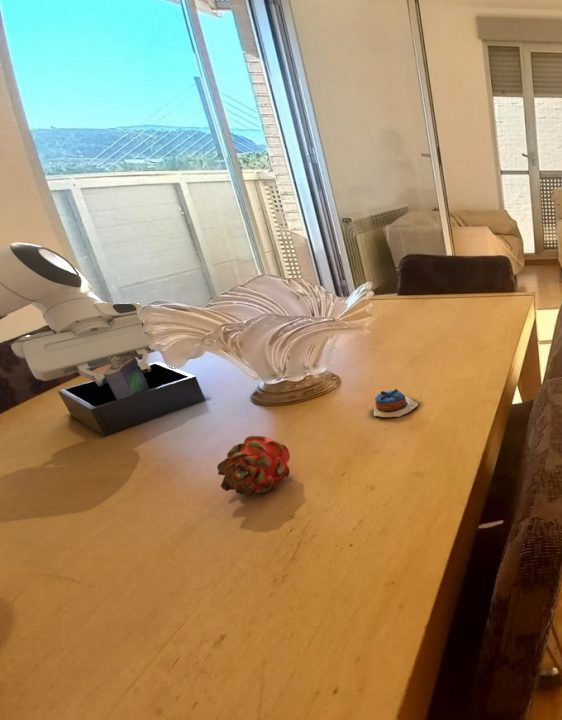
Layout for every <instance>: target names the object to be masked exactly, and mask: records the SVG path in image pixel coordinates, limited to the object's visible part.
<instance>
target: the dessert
mask: <svg viewBox="0 0 562 720" xmlns="http://www.w3.org/2000/svg"><path fill="white" fill-rule="evenodd" d="M374 401H375V403H374V404H375V406H374V409H373V416H374V417H381V418H393V417H394V418H399V417H402V416H404V415H406V414H408V413H410V412H412V411H413V410H414V409H415V408H416V407H418V405H419V404H418V403H417V402H416V401H414V398H412V399H411V398H410V397H408V396H405V394H403V393H402V392H400V390H398V389H397V388H395V389H393V390H386V391H383V390H381V391H380V393H378V394H377V395H376V396H375V399H374Z"/></svg>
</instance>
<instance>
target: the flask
mask: <svg viewBox="0 0 562 720" xmlns="http://www.w3.org/2000/svg"><path fill="white" fill-rule="evenodd" d="M110 358H111V357H109V358H107V361H108V360H109V359H110ZM119 358H121V357H118V358H117V357H115V356H114V357H113V358H112V359H110V361H111V364H110V365H111V366H109V367H108V368H107V369H106V370H105V371H104V372H103V373H104V377H105V378H106V380H107V382H108V384H109V386H110V388H111V389H112V391H113V394H114V395H115V397H116V399H117V400H119V399H122V398H125V397H128V396H131V395H134V394H137V393H141V392H144V391H147V390H150V389H149V386H148V384H147V382H146V379H145V377H144V375H143V374H141V373H140V371H139V370H138V369H137V363H139V362H138V359H137V357H131V358H130V357H128V358H121V359H120V360H119Z"/></svg>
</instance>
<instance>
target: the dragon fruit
mask: <svg viewBox="0 0 562 720" xmlns="http://www.w3.org/2000/svg"><path fill="white" fill-rule="evenodd" d="M290 458H291V456H290V451H289V449H288V447H287V446H286V445H285V444H283V443H281V442H279V441H277V440H274V439H273V438H270V437H269V436H264V435H249V436H247V437H245V439H244V441H243V443H238V444H235V445H233V446H232V447H231V448H230V450H228V452H227V453H226V457H225V459H223V460H222V461H220V462H219V463H218V464H217V466H216V469H217V475H218V476H224V477H223V479H222V483H221V484H220V488H221V489H222V490H223V491H225V492H228V491H235V493H236V494H238V495H246V494H248V493H253V494H259V493H261V494H262V493H266V492H268V491H270V490H271V489H272V487H273V484H274V483H276V482H280V481H282V480H283V479H284V478H285V479H286V478H288V477H289V475H290V467H289V466H288V463H289V461H290Z"/></svg>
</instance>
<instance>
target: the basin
mask: <svg viewBox="0 0 562 720" xmlns="http://www.w3.org/2000/svg"><path fill="white" fill-rule="evenodd" d="M148 364H149V366H150V367H151V372H147V373H144V374H143V375H144V377H145V379H146V382H147V384H148V386H149V389H150V390H147V391H144V392H141V393H137V394H134V395H131V396H128V397H125V398H122V399H119V400H117V399H116V397H115V395H114V394H113V391H112V389H111V388H110V386H109V384H106V385H103V386H98V385H97V383H96V382H95V381H94V380H89V381H86V382H81V383H79V384H75V385H71V386H68V387H65V388H61V389H58V390H57V393H58V395H59V397H60V398H61V400H62V402H63V403H64V406H65V407H66V409H67V411H68V412H69V415H70V416H71V417H73V418H75V419H77V420H78V421H80V422H81V423H83V424H85V425H86V426H88V427H90V428H91V429H92V430H94V431H96V432H98V433H99V434H101V435H102V436H103V437H106V436H109V435H112V434H115V433H117V432H120V431H122V430H125V429H128V428H131V427H135V426H136V425H137V426H138V425H139V424H143V423H145V422H148V421H151V420H153V419H156V418H159V417H162V416H164V415H168V414H171V413H173V412H176V411H179V410H181V409H184V408H187V407H190V406H192V405H195V404H198V403H201V402H203V401H206V398H205V395H204V393H203V390H202V389H201V386H200V383H199V381H198V379H197V376H196V375H193V374H191V373H189V372H186V371H183V370H181V369H178V368H176V369H171V368H169V367H168V366H169V365H168V364H166V363H162V362H159V361H156V362H152V363H148ZM167 365H168V366H167Z"/></svg>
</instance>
